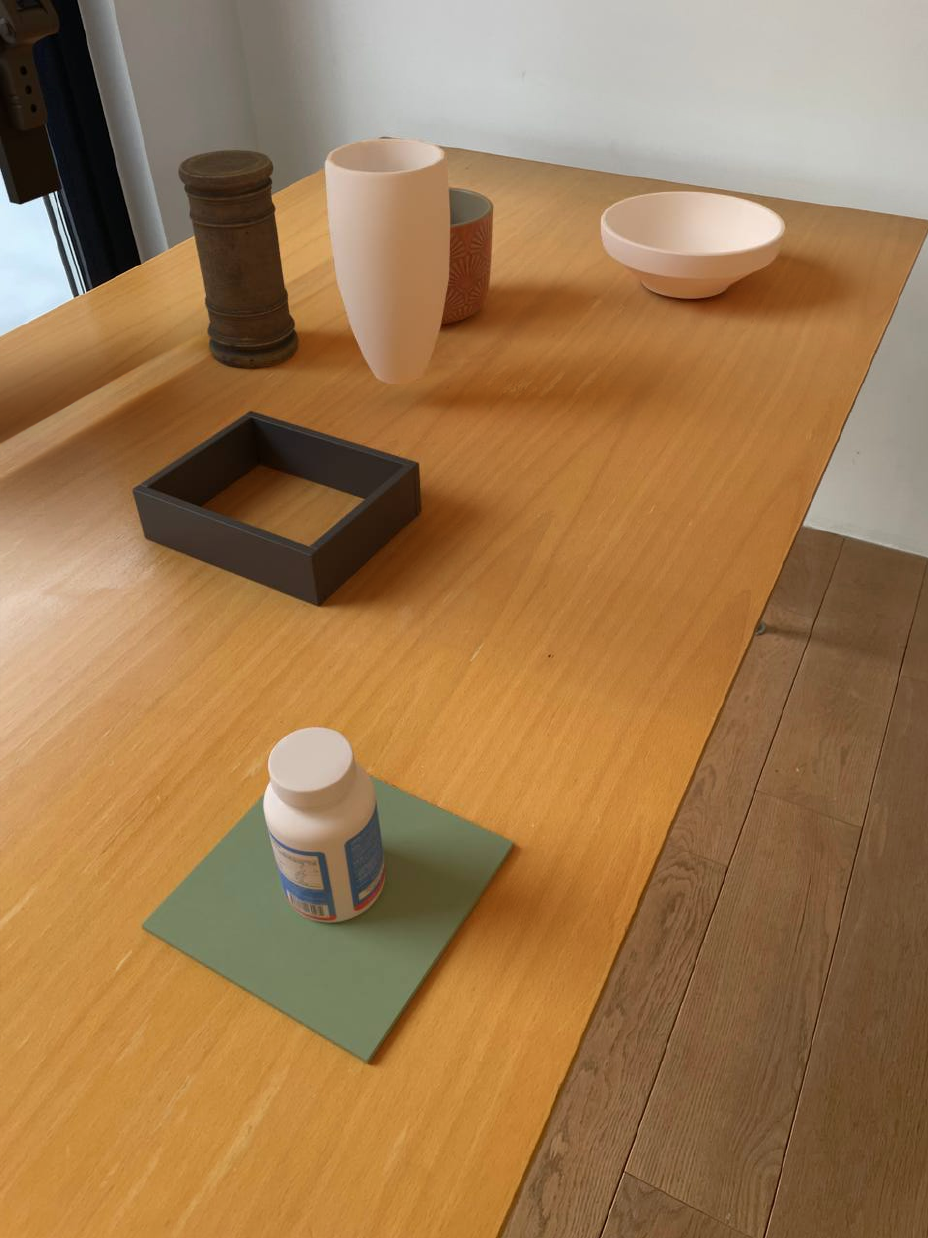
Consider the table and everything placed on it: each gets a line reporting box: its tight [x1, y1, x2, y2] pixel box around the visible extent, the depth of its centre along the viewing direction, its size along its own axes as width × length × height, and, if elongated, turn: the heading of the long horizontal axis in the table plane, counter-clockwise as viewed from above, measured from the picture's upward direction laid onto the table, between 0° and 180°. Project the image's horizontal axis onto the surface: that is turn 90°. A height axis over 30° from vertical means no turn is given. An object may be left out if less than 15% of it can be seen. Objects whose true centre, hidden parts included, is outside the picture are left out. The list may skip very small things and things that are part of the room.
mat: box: [141, 774, 515, 1065], centre depth 53 cm, size 14×14×1 cm
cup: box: [324, 138, 450, 385], centre depth 86 cm, size 10×10×22 cm
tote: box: [131, 410, 422, 607], centre depth 77 cm, size 17×14×4 cm
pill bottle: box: [263, 726, 385, 923], centre depth 50 cm, size 6×5×10 cm
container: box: [177, 149, 299, 369], centre depth 96 cm, size 9×9×18 cm
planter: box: [441, 186, 494, 325], centre depth 105 cm, size 12×12×11 cm
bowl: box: [600, 190, 787, 299], centre depth 111 cm, size 20×20×7 cm
